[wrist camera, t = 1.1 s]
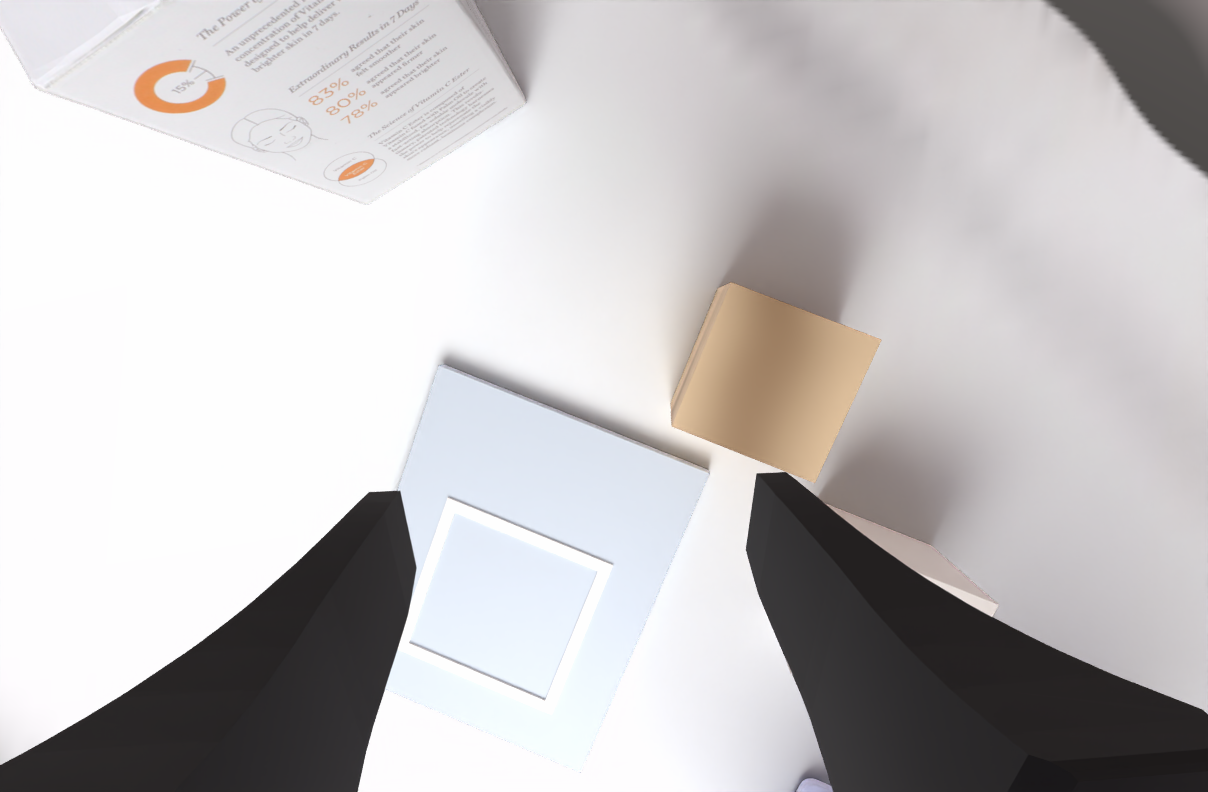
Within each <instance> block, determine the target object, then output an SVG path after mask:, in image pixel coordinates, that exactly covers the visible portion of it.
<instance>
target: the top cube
mask: <svg viewBox="0 0 1208 792" xmlns="http://www.w3.org/2000/svg"><path fill="white" fill-rule="evenodd" d="M825 504H826V503H825ZM826 505H827V506H828V507H830V508H831V509H832V510H833V511H835V512H836V513H837V514H838V515H839V516H841V517H842V518H843V519H844V520H846V521H847V522H848V523H850V524H851V525H852V526H853V527H855V528H856V529H857V530H859V531H860V532H861V533H862V534H864V535H865V536H866V537H868V538H869V539H870V540H872V541H873V542H874V543H876V544H877V545H879V546H880V547H881V548H883V549H884V550H885V551H887V552H888V553H890V554H891V555H893V556H894V557H895V558H897V559H898V560H900V561H901V562H903V563H904V564H905V565H907V566H908V567H910V568H911V569H913V570H914V571H916V572H917V573H919V574H920V575H922V576H923V577H925V578H926V579H928V580H930V581H931V582H933V583H934V584H936V585H938V586H939V587H941V588H943V589H944V590H946V591H948V592H949V593H951V594H953V595H954V596H956V597H958V598H959V599H961V600H962V601H964V602H966V603H968V604H969V605H971V606H973V607H975V608H977V609H978V610H980V611H982V612H984V613H985V614H987V615H989V616H991V617H993V615H994V613H995V611H996V610H997V608H998V606H999V605H998V604H997V603H996V602H995V601H994V600H993V599H992V598H990V597H989V596H988V595H987V594H986V593H985V592H984V591H983V590H981V589H980V588H979V587H978V586H977V585H976V584H975V583H973V582H972V581H971V580H970V579H969V578H968V577H967V576H966V575H964V574H963V573H962V572H961V571H960V570H959V569H958V568H956V567H955V566H954V565H953V564H952V563H951V562H950V561H949V560H947V559H946V558H945V557H944V556H943V555H942V554H941V553H939V552H938V551H937V550H936V549H935V548H934V547H933V546H932V545H929V544H926V543H924V542H921V541H919V540H916V539H914V538H911V537H909V536H906V535H904V534H901V533H899V532H896V531H894V530H891V529H889V528H886V527H884V526H881V525H879V524H876V523H874V522H871V521H869V520H866V519H864V518H861V517H859V516H856V515H854V514H851V513H849V512H846V511H844V510H841V509H839V508H836V507H834V506H831V505H828V504H826ZM787 664H788V663H787ZM788 667H789V665H788ZM789 670H790V668H789ZM790 673H791V674H792V672H791V670H790Z"/></svg>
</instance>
